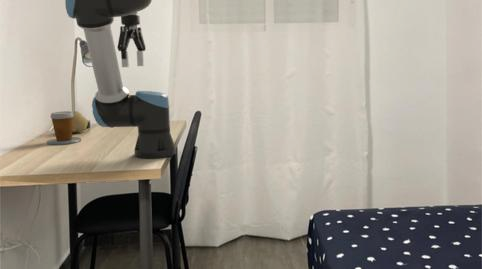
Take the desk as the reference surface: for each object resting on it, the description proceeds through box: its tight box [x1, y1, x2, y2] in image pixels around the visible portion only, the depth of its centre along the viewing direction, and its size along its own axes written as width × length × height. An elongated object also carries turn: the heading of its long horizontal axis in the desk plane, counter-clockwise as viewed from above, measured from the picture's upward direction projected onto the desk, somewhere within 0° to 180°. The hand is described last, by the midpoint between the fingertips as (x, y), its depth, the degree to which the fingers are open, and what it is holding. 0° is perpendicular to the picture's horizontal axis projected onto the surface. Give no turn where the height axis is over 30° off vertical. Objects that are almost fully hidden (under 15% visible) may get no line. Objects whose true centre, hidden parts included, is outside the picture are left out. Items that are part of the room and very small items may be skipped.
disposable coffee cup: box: [50, 110, 74, 141], centre depth 202 cm, size 10×10×12 cm
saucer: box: [46, 136, 82, 146], centre depth 203 cm, size 14×14×1 cm
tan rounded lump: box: [72, 110, 89, 134], centre depth 227 cm, size 10×12×11 cm
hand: (133, 66), depth 198 cm, fingers open, 13 cm apart
